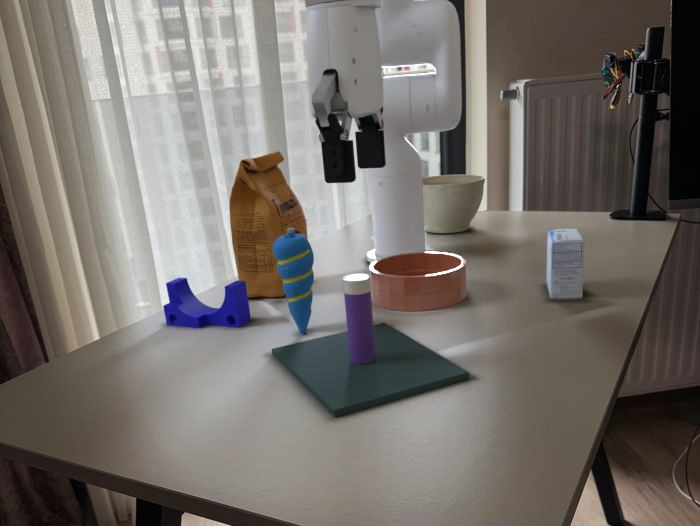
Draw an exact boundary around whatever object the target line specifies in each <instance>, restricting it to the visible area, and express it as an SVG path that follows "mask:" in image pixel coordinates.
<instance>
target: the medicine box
mask: <svg viewBox="0 0 700 526" xmlns="http://www.w3.org/2000/svg"><path fill="white" fill-rule="evenodd" d="M546 236H547V237H546V238H547V239H546V277H545V278H546V279H545V280H546V282H545V283H546V287H547V289H548V293H549V297H550V299H582V298H583V294H584V293H583V292H584V270H585V269H584V265H585V240H584V238H583V237H582V234H581V233H580V230H579V229H578V228H557V229H550V230H548V231H547V234H546Z"/></svg>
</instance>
